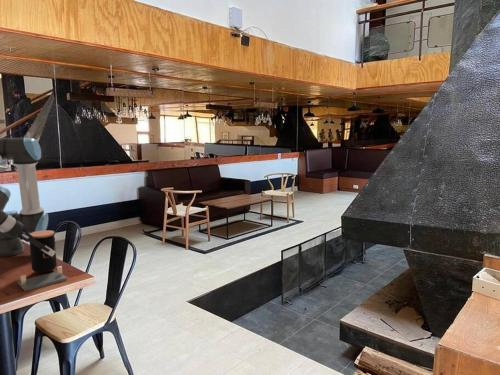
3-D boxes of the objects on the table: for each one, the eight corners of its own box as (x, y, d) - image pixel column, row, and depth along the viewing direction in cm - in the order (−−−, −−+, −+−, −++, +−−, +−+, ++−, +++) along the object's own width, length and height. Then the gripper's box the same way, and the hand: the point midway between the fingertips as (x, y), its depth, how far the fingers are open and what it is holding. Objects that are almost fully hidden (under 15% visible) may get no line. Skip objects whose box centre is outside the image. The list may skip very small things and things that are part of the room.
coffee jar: (46, 273, 171) (43, 237, 169) (26, 271, 173) (23, 235, 170) (61, 265, 182) (59, 230, 179) (42, 264, 184) (40, 229, 181)
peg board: (25, 291, 156) (24, 279, 155) (17, 283, 163) (16, 272, 163) (66, 280, 168) (66, 269, 168) (58, 273, 176) (57, 263, 175)
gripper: (-3, 228, 171) (36, 252, 185) (10, 238, 155) (52, 264, 169) (9, 215, 174) (46, 240, 188) (24, 224, 158) (64, 250, 172)
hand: (49, 251), depth 178 cm, fingers closed on coffee jar, 11 cm apart
